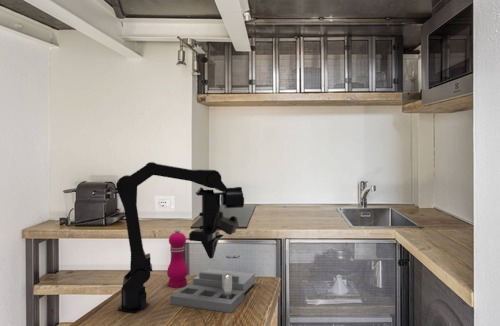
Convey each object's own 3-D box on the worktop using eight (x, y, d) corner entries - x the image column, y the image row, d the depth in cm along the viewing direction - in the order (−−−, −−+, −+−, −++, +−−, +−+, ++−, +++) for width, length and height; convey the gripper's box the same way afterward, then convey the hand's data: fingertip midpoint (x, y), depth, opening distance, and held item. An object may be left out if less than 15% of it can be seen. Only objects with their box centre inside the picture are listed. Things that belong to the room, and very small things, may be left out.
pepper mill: (191, 282, 130) (191, 226, 130) (182, 289, 123) (182, 230, 123) (173, 280, 132) (173, 226, 132) (163, 287, 125) (163, 229, 125)
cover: (193, 287, 122) (193, 272, 122) (207, 277, 132) (207, 263, 132) (243, 293, 116) (243, 278, 116) (254, 282, 126) (254, 268, 126)
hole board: (170, 304, 110) (170, 295, 110) (188, 291, 120) (188, 284, 120) (231, 312, 103) (231, 304, 103) (244, 298, 114) (244, 291, 114)
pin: (220, 305, 109) (220, 275, 109) (224, 301, 111) (224, 272, 111) (229, 306, 108) (229, 276, 108) (233, 302, 110) (233, 273, 110)
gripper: (222, 214, 102) (222, 268, 103) (244, 206, 120) (245, 253, 120) (188, 212, 106) (188, 265, 106) (214, 205, 124) (214, 250, 124)
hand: (211, 258), depth 114 cm, fingers closed
